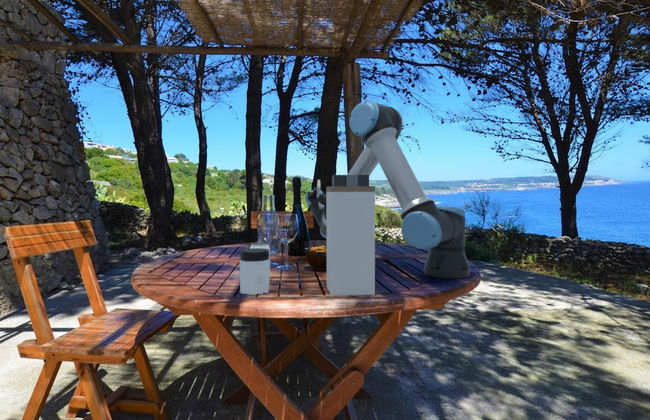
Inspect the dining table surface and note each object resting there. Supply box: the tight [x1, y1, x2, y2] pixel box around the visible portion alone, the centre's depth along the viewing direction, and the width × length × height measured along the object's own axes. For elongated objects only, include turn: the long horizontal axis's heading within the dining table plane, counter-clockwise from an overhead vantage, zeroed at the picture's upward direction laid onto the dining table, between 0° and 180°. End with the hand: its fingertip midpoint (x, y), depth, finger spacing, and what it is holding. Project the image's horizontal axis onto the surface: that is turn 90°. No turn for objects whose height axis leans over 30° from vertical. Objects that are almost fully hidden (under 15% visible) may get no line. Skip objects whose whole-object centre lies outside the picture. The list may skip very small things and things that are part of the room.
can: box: [249, 241, 271, 280], centre depth 139 cm, size 6×6×12 cm
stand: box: [325, 185, 376, 297], centre depth 124 cm, size 12×12×30 cm
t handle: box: [331, 174, 370, 186], centre depth 129 cm, size 20×10×3 cm, turn 7°
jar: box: [239, 248, 270, 296], centre depth 123 cm, size 9×8×12 cm
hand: (340, 183), depth 137 cm, fingers open, 13 cm apart
